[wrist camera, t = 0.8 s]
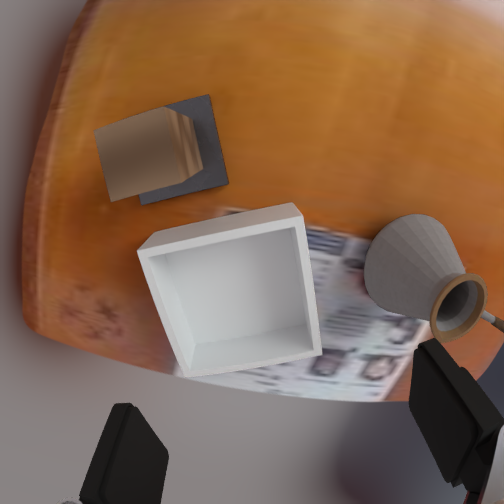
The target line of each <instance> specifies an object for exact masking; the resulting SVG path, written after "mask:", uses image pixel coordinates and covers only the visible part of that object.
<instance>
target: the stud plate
mask: <svg viewBox="0 0 504 504" xmlns="http://www.w3.org/2000/svg"><path fill="white" fill-rule="evenodd" d="M164 107H166V108H169V109H171V110H173V111H176V112H178V113H180V114H182V115H185V116H187V117H189V118H191V119H192V120H193V125H194V129H195V134H196V138H197V143H198V147H199V152H200V156H201V160H202V165H203V169H202V170H201V171H199V172H197V173H196V174H194V175H193V176H191V177H190V178H188V179H186V180H185V181H183V182H182V183H179V184H175V185H171V186H167V187H163V188H159V189H156V190H152V191H148V192H145V193H141V194H139V198H140V202H141V205H145V204H148V203H152V202H156V201H160V200H164V199H168V198H172V197H176V196H180V195H184V194H188V193H192V192H196V191H201V190H205V189H209V188H214V187H218V186H222V185H227V184H229V181H228V177H227V172H226V168H225V163H224V159H223V154H222V150H221V145H220V141H219V136H218V132H217V127H216V123H215V118H214V114H213V109H212V105H211V100H210V96H209V94H208V95H203V96H199V97H196V98H192V99H188V100H184V101H180V102H177V103H173V104H170V105H166V106H164ZM156 109H157V108H156ZM153 110H154V109H153ZM140 114H141V113H140ZM137 115H138V114H137ZM134 116H135V115H134ZM131 117H132V116H131Z"/></svg>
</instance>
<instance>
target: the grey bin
mask: <svg viewBox="0 0 504 504" xmlns="http://www.w3.org/2000/svg"><path fill="white" fill-rule="evenodd" d="M137 253H138V256H139V259H140V262H141V265H142V268H143V271H144V274H145V277H146V280H147V283H148V286H149V289H150V291H151V294H152V297H153V300H154V302H155V305H156V308H157V311H158V313H159V316H160V318H161V321H162V324H163V326H164V329H165V331H166V334H167V336H168V339H169V341H170V344H171V346H172V349H173V351H174V354H175V356H176V358H177V361H178V363H179V365H180V368H181V370H182V372H183V375H184V377H185V378H188V377H197V376H205V375H212V374H220V373H227V372H233V371H240V370H246V369H252V368H258V367H264V366H269V365H275V364H280V363H285V362H290V361H295V360H300V359H305V358H309V357H314V356H318V355H322V347H321V338H320V330H319V322H318V314H317V306H316V299H315V291H314V284H313V277H312V270H311V263H310V257H309V250H308V244H307V237H306V231H305V225H304V219H303V215H302V214H301V212H300V211H299V210H298V209H297V207H296V206H295V205H294V203H293V202H291V203H286V204H281V205H276V206H271V207H266V208H261V209H256V210H251V211H246V212H242V213H237V214H232V215H227V216H223V217H218V218H214V219H209V220H205V221H200V222H196V223H191V224H187V225H182V226H178V227H174V228H170V229H165V230H161V231H157V232H154V233H153V234H152V235H151V236H150V237H149V238H148V239H147V240H146V241H145V243H144V244H143V245H142V246H141V247H140V248H139V249H138V250H137Z"/></svg>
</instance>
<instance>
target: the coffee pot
mask: <svg viewBox="0 0 504 504" xmlns="http://www.w3.org/2000/svg"><path fill="white" fill-rule="evenodd" d="M364 280H365V286H366V289H367V291H368V293H369V295H370V298H371V299H372V300H373V301H374V302H375V303H376V304H377V305H378V306H379V307H381V308H383V309H385V310H387V311H389V312H393V313H397V314H401V315H405V316H410V317H414V318H418V319H422V320H426V321H430V327H431V331H432V333H433V335H434V337H435V338H436V339H437V340H438V341H439V342H440V343H446V342H450V341H453V340H456V339H458V338H460V337H462V336H464V335H465V334H467V333H468V332H469V331H470V330H471V329H472V328H473V327H474V326H475V325H476V324H477V322H478V321H479V319H480V318H483V319H485V320H486V321H488V322H490V323H491V324H492V325H493V326H495V327H496V328H498V329H499V330H500V331H502V332H503V333H504V321H503V320H501V319H499V318H497V317H495V316H493V315H491V314H490V313H488V312H487V311H485V306H486V303H487V296H488V293H487V286H486V284H485V282H484V280H483V279H482V278H481V277H480V276H479V275H477V274H474V273H466V272H465V270H464V267H463V265H462V263H461V260H460V258H459V256H458V253H457V251H456V249H455V246H454V244H453V242H452V240H451V238H450V236H449V234H448V232H447V231H446V229H445V227H444V226H443V225H442V224H441V223H439V222H438V221H437V220H436V219H435V218H432V217H429V216H427V215H423V214H410V215H406V216H403V217H399V218H397V219H396V220H394V221H392V222H390V223H389V224H387V225H386V226H385V227H384V228H383V229H382V230H381V231H380V232H379V233H378V234H377V235H376V237H375V238H374V240H373V241H372V243H371V244H370V247H369V249H368V252H367V255H366V258H365V266H364Z"/></svg>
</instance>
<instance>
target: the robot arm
mask: <svg viewBox="0 0 504 504" xmlns="http://www.w3.org/2000/svg"><path fill="white" fill-rule="evenodd" d="M409 408H410V411H411V412H412V415H413V417H414V419H415V420H416V423H417V425H418V427H419V428H420V430H421V432H422V434H423V436H424V438H425V440H426V442H427V444H428V447H429V448H430V451H431V452H432V455H433V457H434V459H435V461H436V463H437V465H438V467H439V469H440V472H441V473H442V476H443V478H444V480H445V481H446V482H447V483H449V482H451V484H452V486H453V487H456V486H458V485H460V484H462V483H463V484H464V486H465V488H466V490H467V494H466V497H465V499H464V502H463V504H504V418H503V417H502V416H501V414H500V413H499V411H498V410H497V409H496V407H495V406H494V404H493V403H492V402H491V400H490V399H489V398H488V397H487V395H486V394H485V392H484V391H483V390H482V389H481V387H480V386H479V385H478V383H477V382H476V381H475V379H474V378H473V377H472V376H471V374H470V373H469V372H468V371H467V370H466V369H465V368H464V367H459V366H458V365H457V363H456V362H455V361H454V360H453V358H452V357H451V356H450V355H449V353H448V352H447V351H446V350H445V348H444V347H443V346H442V345H441V344H440V342H439V341H438V340H437V339H436V338H433V339H430V340H428V341H425V342H422V343H420V344H419V345H418V349H415V350H414V357H413V369H412V379H411V388H410V396H409ZM168 460H169V455H168V451H167V449H166V448H165V446H164V445H163V443H162V442H161V441H160V440H159V438H158V437H157V435H156V434H155V432H154V431H153V430H152V428H151V427H150V425H149V424H148V422H147V421H146V420H145V418H144V417H143V415H142V414H141V412H140V411H139V409H138V408H137V407H134V406H133V405H132V404H131V403H116V404H114V406H113V407H112V410H111V412H110V415H109V417H108V420H107V422H106V425H105V427H104V430H103V432H102V435H101V437H100V440H99V442H98V445H97V448H96V451H95V453H94V456H93V458H92V461H91V464H90V466H89V469H88V472H87V474H86V477H85V480H84V483H83V486H82V489H81V491H80V495H79V496H80V499H79V500H77V499H75V498H65V499H62V500H61V501H59V502H58V503H57V504H161V498H162V492H163V486H164V480H165V476H166V470H167V465H168Z"/></svg>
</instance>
